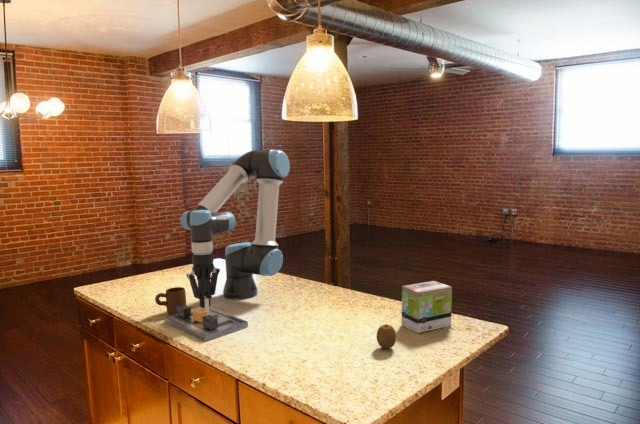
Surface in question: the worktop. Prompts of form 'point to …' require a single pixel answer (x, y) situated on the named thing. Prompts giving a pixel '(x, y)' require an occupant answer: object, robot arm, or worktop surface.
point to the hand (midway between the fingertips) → (205, 315)
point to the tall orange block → (199, 314)
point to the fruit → (386, 336)
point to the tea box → (426, 306)
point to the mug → (172, 299)
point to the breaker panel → (200, 325)
